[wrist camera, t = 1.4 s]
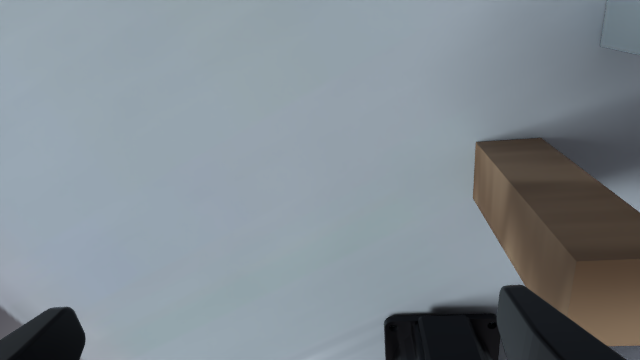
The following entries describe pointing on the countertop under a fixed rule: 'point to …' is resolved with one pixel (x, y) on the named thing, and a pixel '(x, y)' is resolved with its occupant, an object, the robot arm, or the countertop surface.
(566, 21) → the countertop surface
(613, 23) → the holder
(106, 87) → the countertop surface
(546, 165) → the peg
